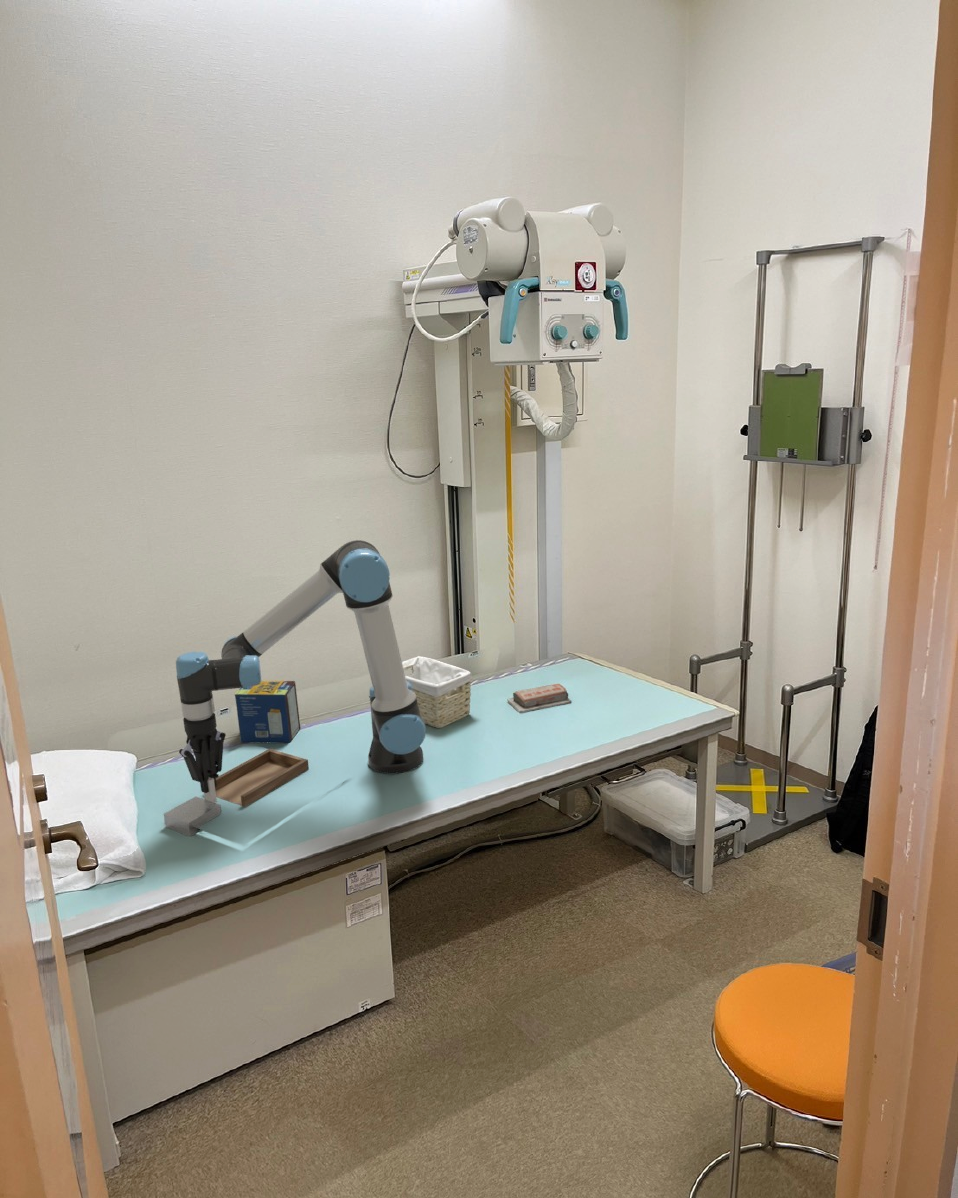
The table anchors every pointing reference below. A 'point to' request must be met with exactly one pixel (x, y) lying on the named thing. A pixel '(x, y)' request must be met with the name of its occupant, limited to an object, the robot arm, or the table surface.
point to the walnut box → (259, 776)
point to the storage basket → (439, 690)
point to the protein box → (268, 712)
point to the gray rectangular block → (191, 815)
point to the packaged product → (539, 698)
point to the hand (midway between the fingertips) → (210, 801)
